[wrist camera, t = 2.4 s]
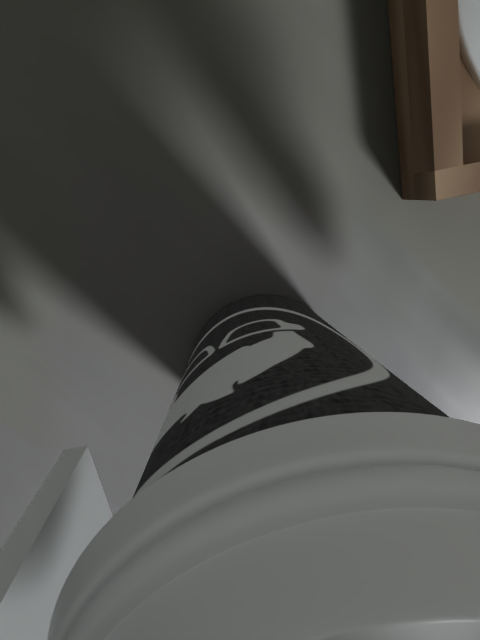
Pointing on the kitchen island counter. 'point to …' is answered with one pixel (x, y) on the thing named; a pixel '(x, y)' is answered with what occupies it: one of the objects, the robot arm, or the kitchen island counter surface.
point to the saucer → (470, 37)
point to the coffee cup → (289, 501)
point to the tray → (433, 101)
